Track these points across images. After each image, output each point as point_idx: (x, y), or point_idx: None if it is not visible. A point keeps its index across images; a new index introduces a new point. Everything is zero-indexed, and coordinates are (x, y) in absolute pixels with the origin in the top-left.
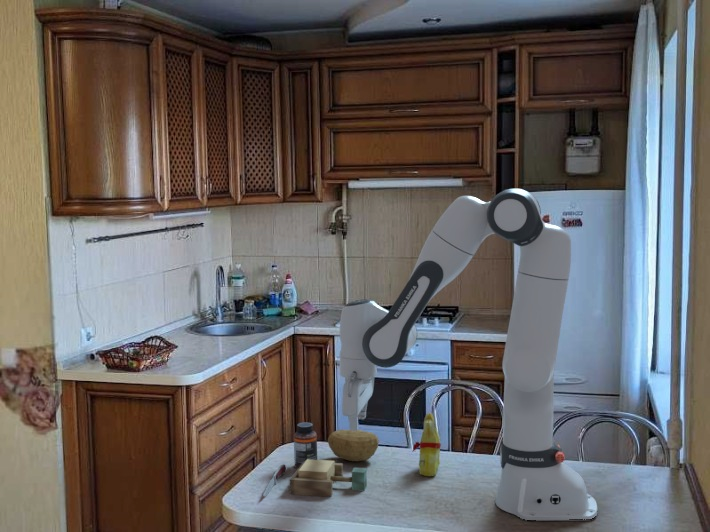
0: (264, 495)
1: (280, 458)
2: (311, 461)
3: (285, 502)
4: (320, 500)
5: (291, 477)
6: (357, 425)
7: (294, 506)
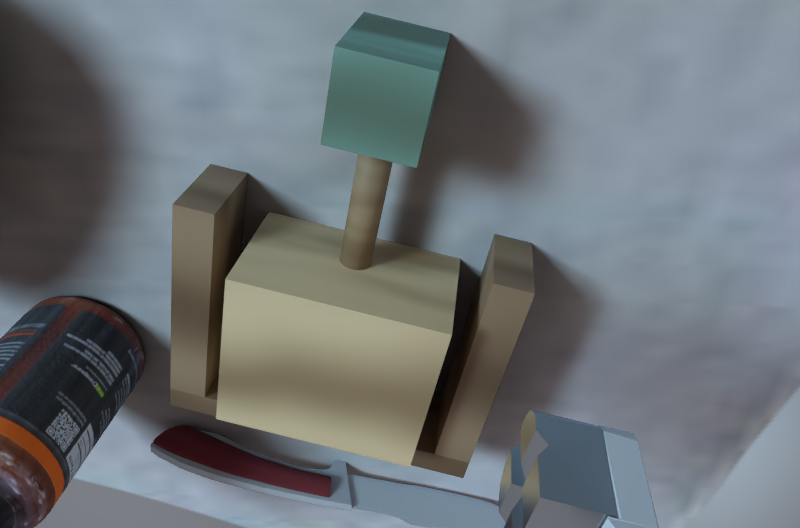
0: None
1: None
2: (252, 401)
3: None
4: (577, 296)
5: (432, 469)
6: (625, 487)
7: (635, 408)
